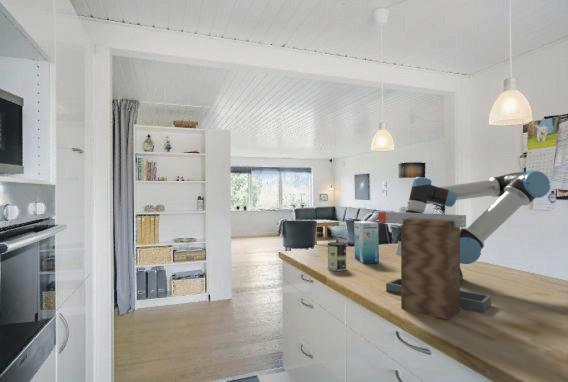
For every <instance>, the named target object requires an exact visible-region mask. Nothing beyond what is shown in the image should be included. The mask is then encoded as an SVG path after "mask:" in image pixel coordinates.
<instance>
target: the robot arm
mask: <svg viewBox="0 0 568 382" xmlns="http://www.w3.org/2000/svg"><path fill="white" fill-rule="evenodd" d="M550 189H551V182H550V179H549V177H548V176H547V175H546V174H545V173H544V172H542V171H539V170H529V171H520V172H511V173H506V174H504V175H499V176H495V177H494V176H493V177H489V178H488V179H487V180H482V181H481V180H480V181H474V182H467V183H466V182H465V183H458V184H452V185H451V184H450V185H446V186H445V185H444V186H436V185H433V184H432V180H431V179H430V178H427V177H422V176H416V177H415V178H413V181H412V184H411V189H410V194H409V198H408V201H407V206H406V210H405V213H425V211H426V207H427V205H430V204H431V205H441V206H444V207H447V208H451V207H454V205H456V201H461V200H467V199H474V198H475V199H476V198H481V197H482V198H483V197H490V196H491V197H492V198H497V197H498V198H497V199H496V200H495V201H494V202H493V203H492V204H491V205H490V206H488V208H487V209H486V210H484V212H482V213H481V214H480V215H479V217H477V218H476V219H475V220H474V221H473V222H472V223H471V224H470V225H468V227H464V228H460V264H462V265H471V264H473V263H475V262H476V261H478V260H479V259H480V257H481V254H482V249H483V248H484V247H485V243H484V242H485V241H486V240H487V239H488V238H489V237H490V236H491V235H493V233H495V232H496V231H497V230H498V229H499V228H500V227H501V226H502V225H503V224H504V223H505V222H506V221H507V220H508V219H509V218H510V217H511V216H512V215H514V214H515V212H517V211H518V210H519V209H520V208H521V207H522V206H528V205H530V204H531V203H532V202H533V201H535V199H536V198H537V199H539V198H543V197H545V196H547V195H548V194H549V192H550ZM396 240H397V241H398V243H397V246H396V249H395V253H394V254H395V255H396V256H399V257H401V229H399V232H398V235H397V236H396ZM461 268H462V267H460V282H463V281H464V275H463V271H462V269H461Z"/></svg>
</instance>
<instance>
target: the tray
mask: <svg viewBox="0 0 568 382" xmlns="http://www.w3.org/2000/svg"><path fill="white" fill-rule="evenodd" d="M385 291H386V292H388V293H392V294H396V295H401V278H396V279H393V280H390V281H388V282H386V288H385ZM491 306H492V295H488V294H483V293H477V292H472V291H467V290H461V289H460V309H464V310H467V311H468V310H469V311H472V312H477V313H482V314H484V313H485V312H486V311H487V310H488V309H489V308H490V307H491Z"/></svg>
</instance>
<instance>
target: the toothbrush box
mask: <svg viewBox="0 0 568 382" xmlns="http://www.w3.org/2000/svg"><path fill="white" fill-rule="evenodd" d="M353 229H354V230H353V233H354V234H353V235H354V259H355V260H357V261H359V262H360V263H362V264H380V247H379V243H380V242H379V239H380V238H379V222H374V221H370V220H357V221H356V220H355V221H353Z"/></svg>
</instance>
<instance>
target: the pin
mask: <svg viewBox="0 0 568 382" xmlns="http://www.w3.org/2000/svg"><path fill="white" fill-rule="evenodd" d="M403 219H419V220H437V221H452V227H458V228H460V229H462V228H467V215H466V214H448V213H447V214H446V213H443V214H442V213H427V212H426V213H425V212H423V213H406V212H399V211H378V223H387V224H398V225H399V224H401V225H403Z"/></svg>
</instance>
